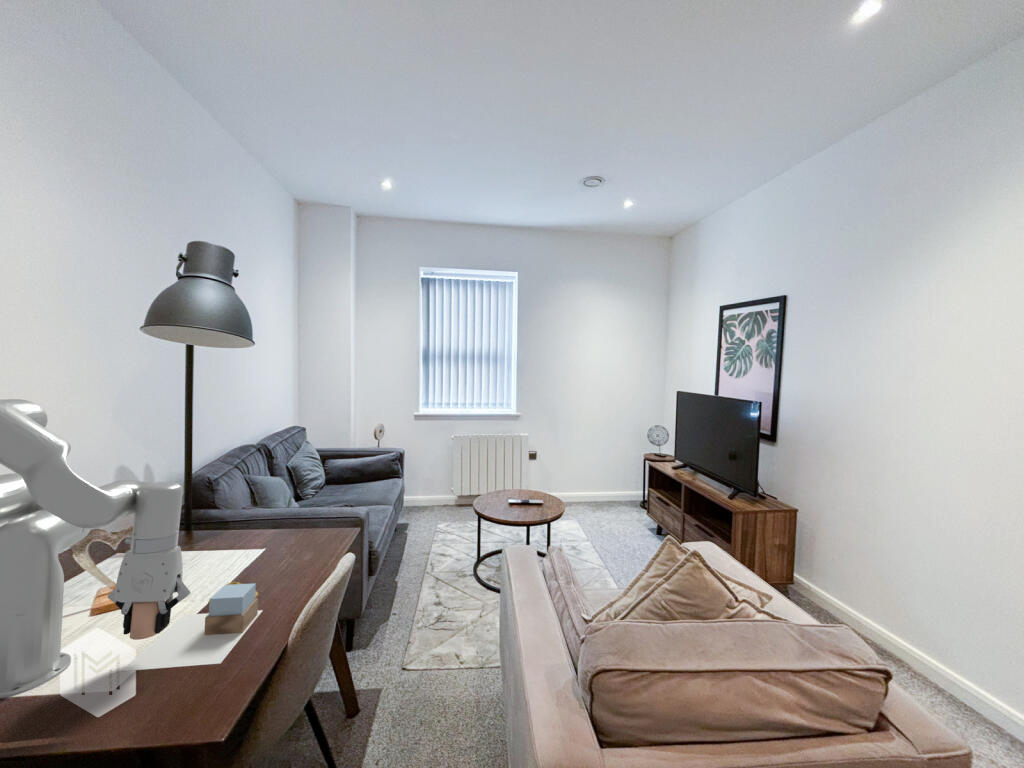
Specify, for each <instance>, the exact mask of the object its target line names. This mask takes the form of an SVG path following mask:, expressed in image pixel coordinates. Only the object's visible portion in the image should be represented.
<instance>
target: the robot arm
mask: <svg viewBox="0 0 1024 768" xmlns="http://www.w3.org/2000/svg"><path fill="white" fill-rule="evenodd" d="M48 419H49V418H48V415H47V413H46V411H45V410H44V408H43V407H42V406H40V405H38V404H37V403H35V402H33V401H31V400H28V399H27V400H26V399H20V398H19V399H17V398H9V399H0V465H2V466H3V467H5V468H7V469H8V470H11V471H12V472H13V473H5V474H0V699H2V698H6V697H11V696H15V695H18V694H21V693H23V692H27V691H30V690H32V689H34V688H37V687H39V686H41V685H43V684H46V683H47V682H49V681H52V680H53V679H55V678H57V677H58V676H59V675H61V674H62V673H63V672H65V671H66V670H67V669H68V668H69V666H70V665H71V662H72V657H71V655H70V654H68V653H65V652H61V649H62V647H61V646H62V629H63V614H64V613H63V612H64V611H63V610H64V592H65V589H64V586H65V574H64V571H63V567H62V564H61V562H60V559H59V554H60V553H61V552H62V551H65V550H67V549H68V548H70V547H72V546H74V545H76V544H77V543H79V542H80V541H82V540H83V539H85V538H86V537H87V536H88V535H89V534H90V532H91V531H92V530H94V529H99V528H104V527H106V526H109V525H110V524H113V523H114V522H115V523H116V521H118V520H121V519H123V518H125V517H128V516H132V515H134V516H133V525H132V535H131V536H127V537H126V538H125V540H124V542H125V544H129V545H130V547H129V548H130V549H128V550H126V551H125V553H124V556H123V557H122V561H121V565H120V568H119V571H118V575H117V579H116V584H115V588H114V589H113V590H112V591H110V593H109V594H108V595H107V599H108V600H109V601H111V602H112V603H114V604H115V606H117V608H119V610H120V614H121V615H123V623H122V628H123V635H130V629H131V619H132V610H133V602H158V605H159V610H160V613H159V614H157V616H156V624H155V634H156V635H157V634H160V633H161V632H162V631H165V629H166V628H167V627H168V626H169V624H170V622H171V613H172V609H173V608H174V607H175V606H176V605H177V604H178V603H180V602H181V601H184V600H185V598H187V597H188V596H190V595H191V591H190V589H189V588H188V587H187V585H186V584H185V583H184V581H183V573H184V572H183V569H184V567H183V566H184V565H183V554H182V549H181V546H180V545H178V544H179V543H178V542H179V534H180V532H179V531H180V523H181V513H182V503H183V496H184V495H183V494H184V489H183V486H182V485H181V484H180V483H178V482H174V481H173V482H172V481H162V482H161V481H160V482H157V481H156V482H147V481H139V480H134V479H133V480H131V479H121V480H116V481H113V482H110V483H107V484H104V485H101V486H98V487H97V486H95V485H93V484H91V483H90V482H88V481H86V480H85V479H83V477H82V478H81V476H79V475H77V473H76V472H74V471H73V470H72V469H71V468H70V465H69V464H68V462H67V461H68V459H67V457H68V456H69V454H70V452H71V450H72V447H71V444H70V443H69V441H67V440H66V439H64V438H62V437H61V436H59V435H57V434H56V433H55V432H53V431H51V430H49V429H47V425H48ZM3 523H4V524H3ZM2 524H3V525H2ZM174 593H177V595H176V597H174Z"/></svg>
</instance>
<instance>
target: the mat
mask: <svg viewBox="0 0 1024 768" xmlns="http://www.w3.org/2000/svg"><path fill="white" fill-rule="evenodd" d="M263 611H264V610H263V609H261V610H259V609H258V613H257V616H256V617H255V618H254V619H253V621H252V622H251V623H250V624H249V626H248V627H247V628H246V629H245V630H244V632H243V633H232V634H217V635H204V632H205V617H206V616H207V615H208V614H209V612H207V613H194V614H192V613H190V614H183V615H182V616H181V617H180V618H179V619H178V620H176V622H174V623H173V624H172V625H171V626H170V627H169V628H167V629H166V630H164V632H163V633H162V634H160V636H158V637H157V638H156V639H155V640H154V641H153V642H151V644H150V645H148V646H147V647H146V648H145V649H143V651H141V652H140V653H139V654H138V655H137V656H135V657H134V658H133V660H131V661H130V662H129V663H128V664H126V666H124V667H123V668H122V669H121V670H120V672H131V671H142V670H157V669H168V668H179V667H180V668H181V667H191V666H192V667H194V666H206V665H218V664H219V665H220V664H222V663H223V661H224V660H225V659H226V658H227V656H228V655H229V653H230V652H232V649H234V647H235V646H236V645H237V644H238V642H239V641H241V638H243V636H244V635H245V633H246V632H247V631H248V630H249V628H250V627H251V626H252V625H253V624H254V622H255V621H256V620H257V619H258V617H259V616H260V615H261V613H262V612H263Z"/></svg>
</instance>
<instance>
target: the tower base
mask: <svg viewBox="0 0 1024 768" xmlns="http://www.w3.org/2000/svg"><path fill="white" fill-rule="evenodd" d="M258 610H259V598H257V597H256V598H255V600H254V601H253V603H252V604H251V605H250V606H249V607H248V608H247V609H246V611H245V612H244V613H243V614H241V615H224V616H209V614H208V615H207V616H206V617H205V632H204V635H217V634H232V633H243V632H244V630H245V629H246V628H247V627H248V626H249V624H250V623H251V622H252V621H253V619H254V618H255V617H256V616H257V613H258Z"/></svg>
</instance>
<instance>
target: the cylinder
mask: <svg viewBox="0 0 1024 768" xmlns="http://www.w3.org/2000/svg"><path fill="white" fill-rule="evenodd" d="M159 613H160V610H159V605H158V602H133V610H132V619H131V629H130V633H129V639H131V640H144V639H148V638H151V637H153V636H156V635H157V634H155V624H156V616H157V614H159Z"/></svg>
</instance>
